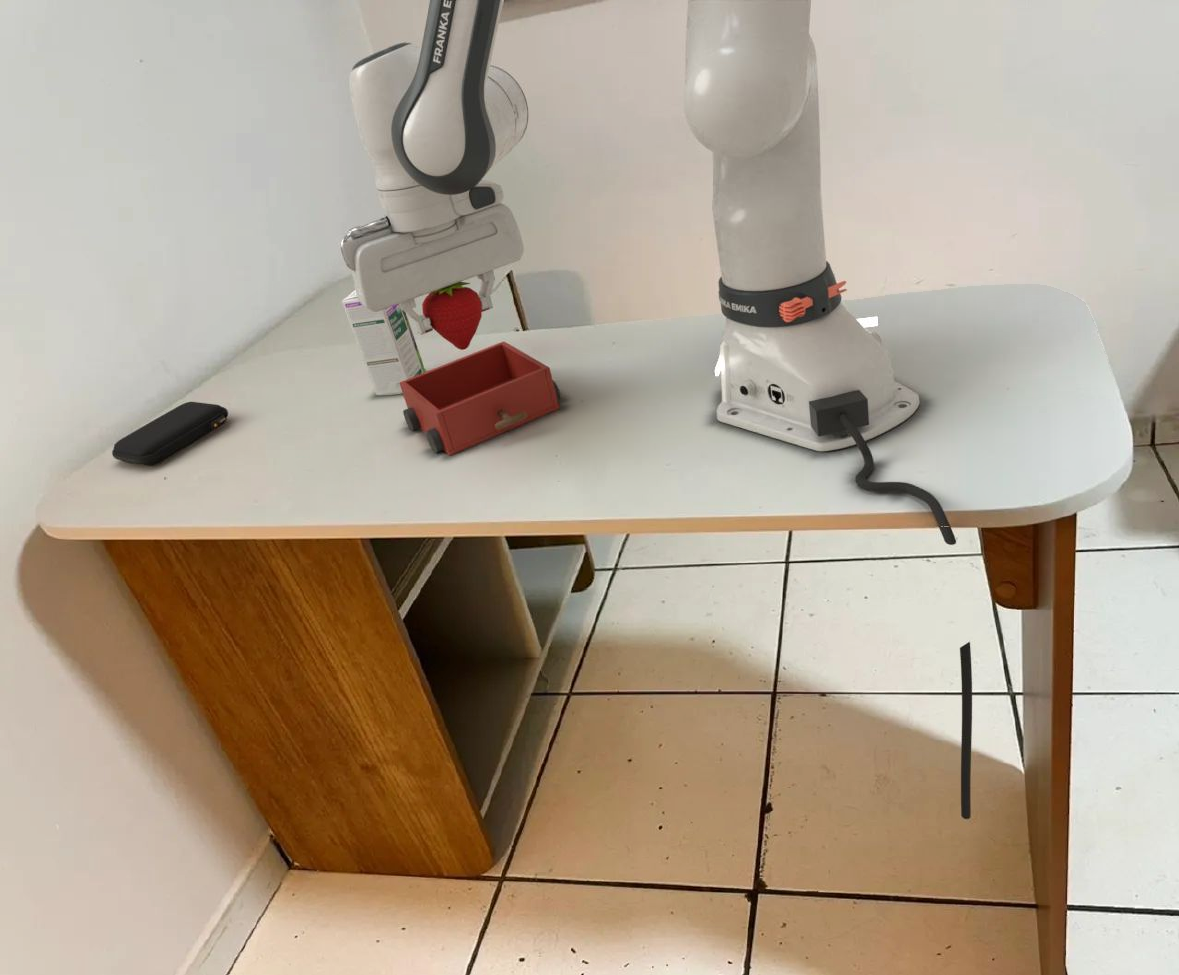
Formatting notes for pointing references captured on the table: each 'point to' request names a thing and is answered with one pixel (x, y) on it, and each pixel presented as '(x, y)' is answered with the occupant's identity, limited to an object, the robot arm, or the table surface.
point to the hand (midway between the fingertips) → (456, 320)
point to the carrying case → (170, 433)
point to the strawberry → (454, 313)
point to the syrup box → (384, 345)
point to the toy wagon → (478, 397)
